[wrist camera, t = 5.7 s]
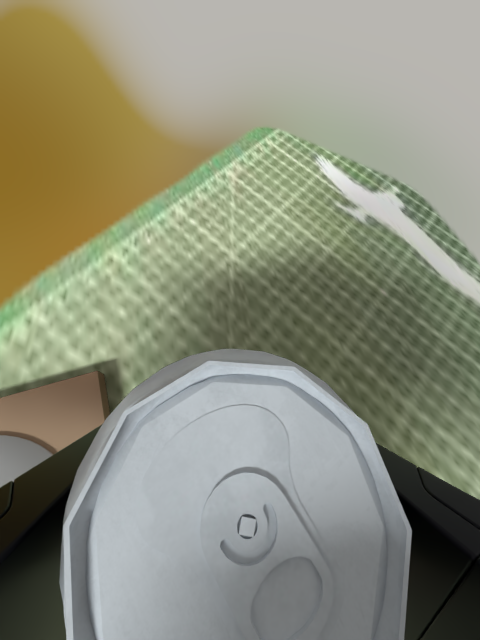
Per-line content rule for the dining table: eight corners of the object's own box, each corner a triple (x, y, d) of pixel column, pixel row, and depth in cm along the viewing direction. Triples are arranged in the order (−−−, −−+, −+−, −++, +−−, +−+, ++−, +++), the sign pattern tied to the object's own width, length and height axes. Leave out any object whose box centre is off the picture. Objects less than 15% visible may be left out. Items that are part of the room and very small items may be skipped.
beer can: (229, 387, 15) (286, 278, 4) (277, 463, 14) (530, 586, 3) (153, 436, 14) (-55, 465, 3) (198, 527, 13) (143, 1199, 2)
